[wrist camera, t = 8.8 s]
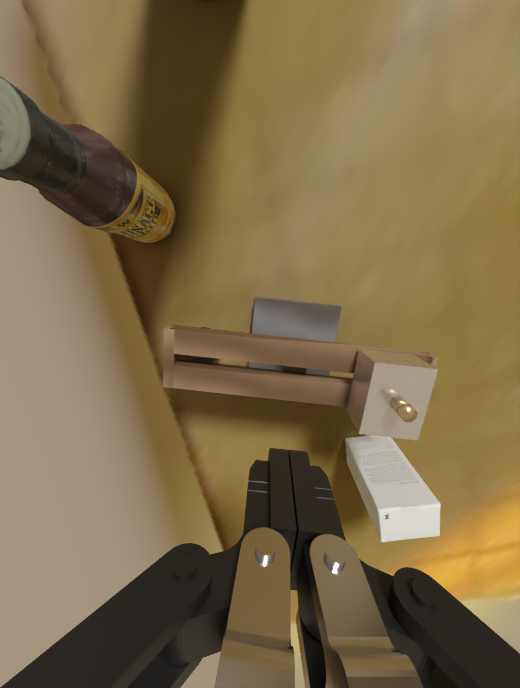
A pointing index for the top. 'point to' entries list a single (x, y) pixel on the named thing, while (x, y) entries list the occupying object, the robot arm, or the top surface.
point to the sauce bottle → (80, 172)
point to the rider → (390, 393)
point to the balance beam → (269, 355)
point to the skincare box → (392, 489)
